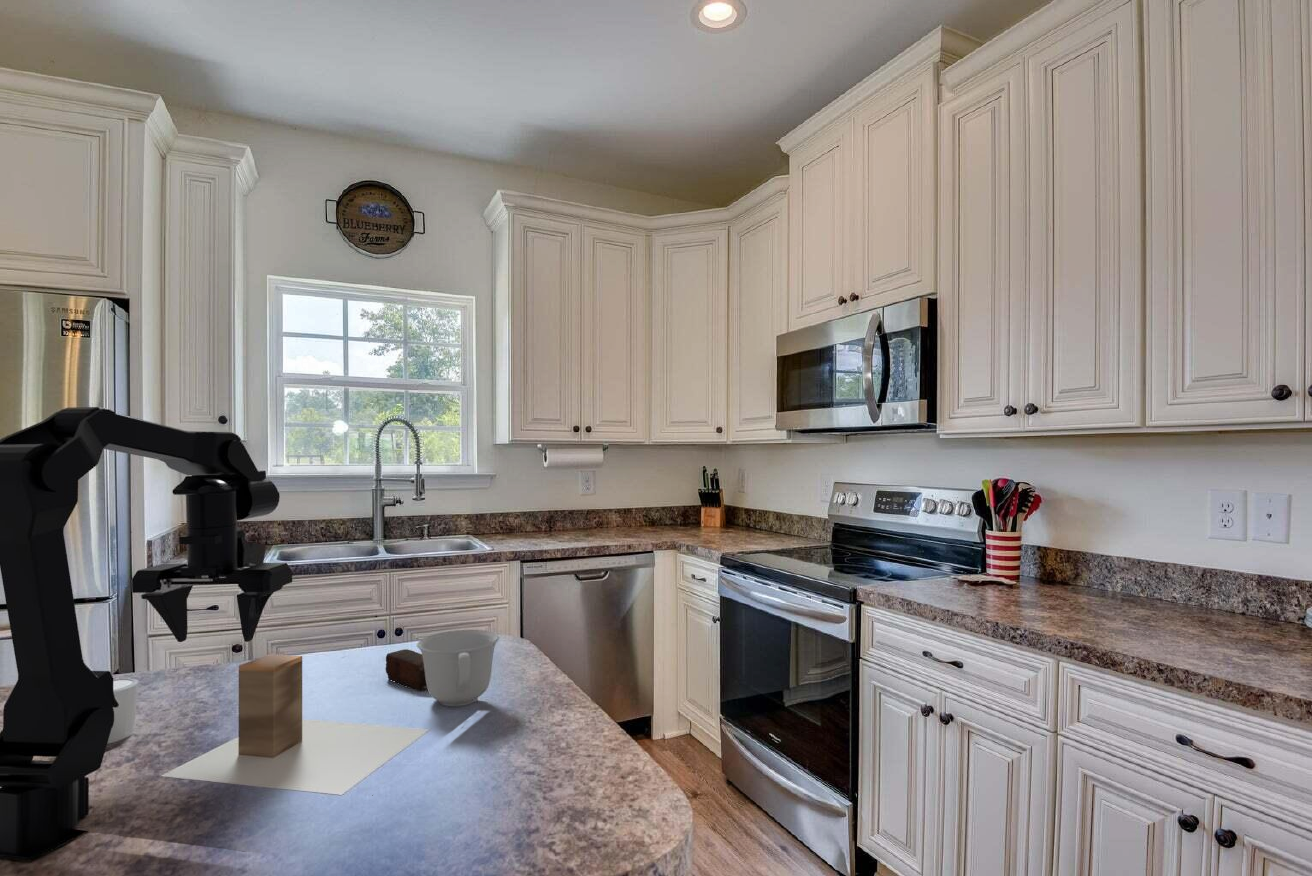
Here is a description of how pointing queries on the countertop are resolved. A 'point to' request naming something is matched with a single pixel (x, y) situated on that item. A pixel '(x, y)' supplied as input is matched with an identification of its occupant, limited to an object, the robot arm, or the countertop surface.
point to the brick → (406, 669)
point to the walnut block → (270, 705)
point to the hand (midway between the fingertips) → (215, 641)
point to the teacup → (458, 664)
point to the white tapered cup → (124, 708)
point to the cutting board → (306, 758)
